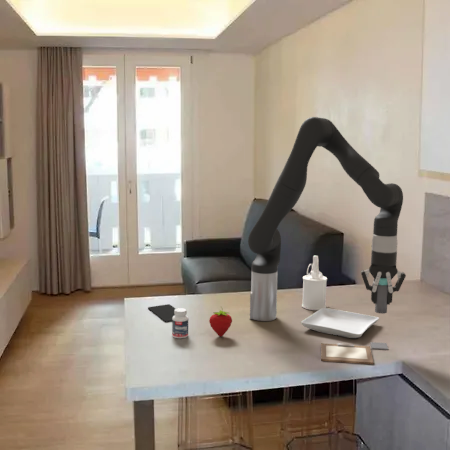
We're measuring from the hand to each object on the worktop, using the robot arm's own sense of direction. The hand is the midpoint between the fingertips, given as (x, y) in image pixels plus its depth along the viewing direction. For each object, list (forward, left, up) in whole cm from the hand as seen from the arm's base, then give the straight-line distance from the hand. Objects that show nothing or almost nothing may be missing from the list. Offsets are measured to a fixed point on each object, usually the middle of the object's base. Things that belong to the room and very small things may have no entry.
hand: (381, 303), depth 186 cm
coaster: (0, 0, -14) cm, 14 cm away
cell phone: (-74, +20, -15) cm, 78 cm away
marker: (0, 0, -3) cm, 3 cm away
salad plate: (-12, +16, -15) cm, 25 cm away
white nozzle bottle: (-21, +39, -14) cm, 46 cm away
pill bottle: (-64, -2, -14) cm, 65 cm away
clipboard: (-11, -8, -14) cm, 20 cm away
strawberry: (-51, 0, -14) cm, 52 cm away
